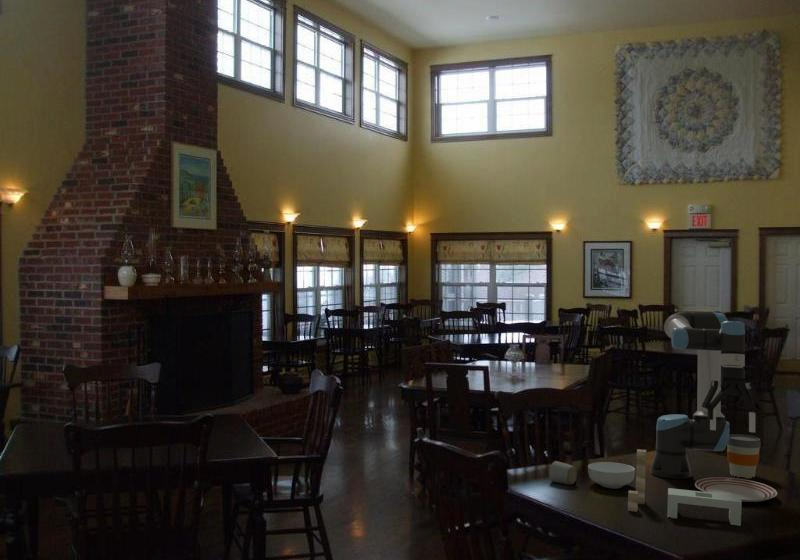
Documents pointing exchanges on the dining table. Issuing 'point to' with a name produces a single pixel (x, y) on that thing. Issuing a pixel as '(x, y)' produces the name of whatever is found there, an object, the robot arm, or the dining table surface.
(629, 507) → the short pin
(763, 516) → the dining table surface
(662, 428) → the robot arm
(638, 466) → the tall pin
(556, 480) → the ceramic mug
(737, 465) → the reusable coffee cup
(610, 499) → the dining table surface
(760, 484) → the dinner plate
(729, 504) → the bridge
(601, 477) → the cereal bowl
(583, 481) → the dining table surface
